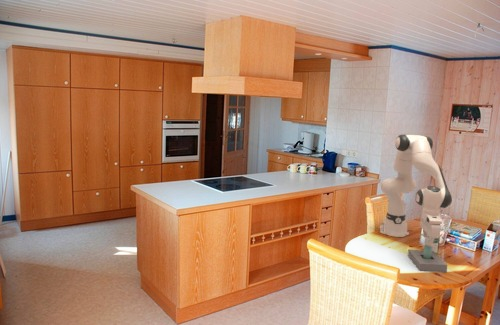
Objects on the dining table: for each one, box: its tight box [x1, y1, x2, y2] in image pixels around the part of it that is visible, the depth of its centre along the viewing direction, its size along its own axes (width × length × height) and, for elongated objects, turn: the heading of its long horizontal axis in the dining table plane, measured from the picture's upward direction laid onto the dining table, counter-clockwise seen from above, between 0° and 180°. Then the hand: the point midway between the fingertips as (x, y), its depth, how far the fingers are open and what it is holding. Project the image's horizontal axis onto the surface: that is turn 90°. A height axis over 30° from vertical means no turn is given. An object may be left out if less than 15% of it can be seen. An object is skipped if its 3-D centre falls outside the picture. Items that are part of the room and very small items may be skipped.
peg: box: [423, 245, 432, 259], centre depth 217 cm, size 4×4×10 cm
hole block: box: [407, 249, 448, 273], centre depth 218 cm, size 20×14×4 cm
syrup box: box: [423, 234, 441, 256], centre depth 232 cm, size 6×6×14 cm
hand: (427, 240), depth 216 cm, fingers open, 8 cm apart
